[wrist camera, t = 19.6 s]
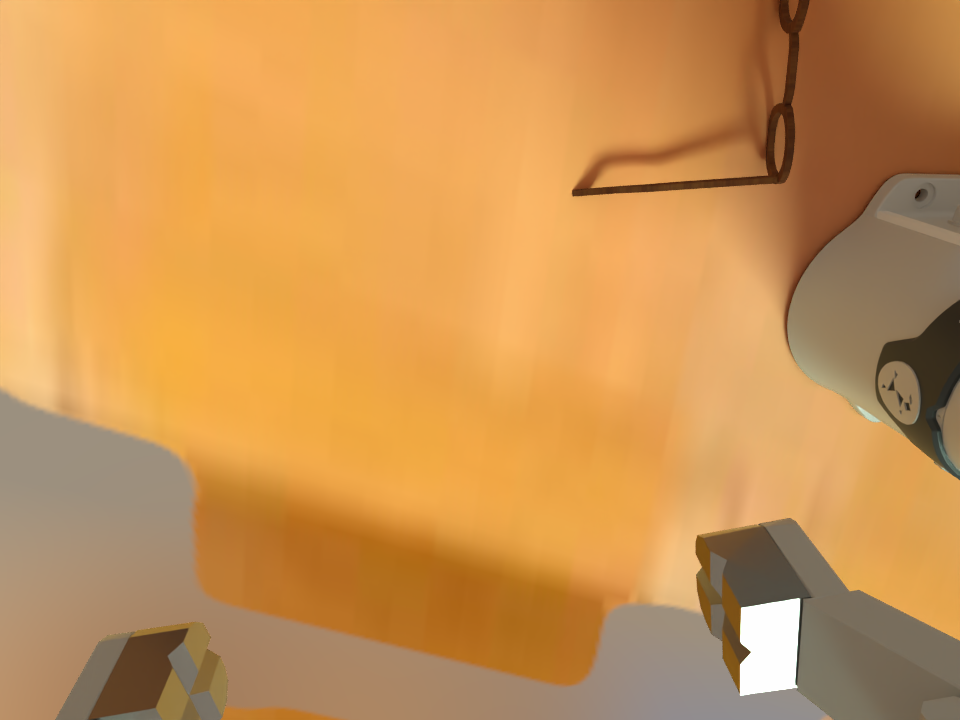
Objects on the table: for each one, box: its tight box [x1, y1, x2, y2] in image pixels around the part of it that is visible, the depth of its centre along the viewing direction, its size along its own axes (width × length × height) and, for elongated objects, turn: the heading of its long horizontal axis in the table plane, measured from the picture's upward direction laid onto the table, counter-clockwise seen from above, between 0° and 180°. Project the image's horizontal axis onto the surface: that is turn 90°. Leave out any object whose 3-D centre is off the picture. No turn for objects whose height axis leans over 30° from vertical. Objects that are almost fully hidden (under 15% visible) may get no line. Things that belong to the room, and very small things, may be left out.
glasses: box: [572, 0, 809, 196], centre depth 39 cm, size 13×13×5 cm
